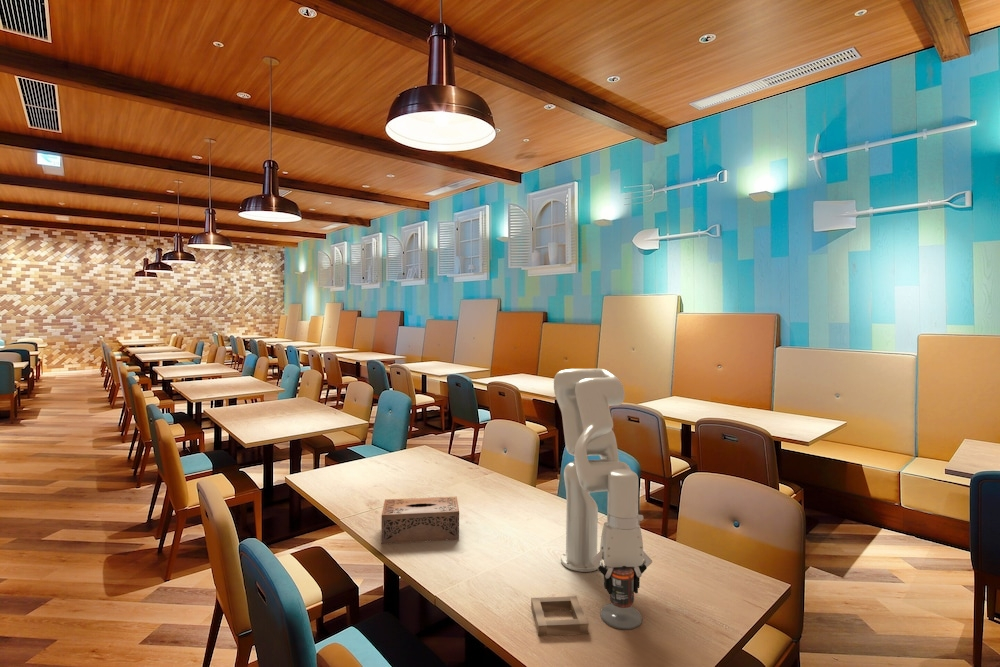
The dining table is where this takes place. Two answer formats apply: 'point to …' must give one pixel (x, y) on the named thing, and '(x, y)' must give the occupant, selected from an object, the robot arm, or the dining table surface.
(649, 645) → the dining table surface
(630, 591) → the supplement bottle
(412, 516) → the tissue box cover
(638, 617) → the coaster
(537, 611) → the pocket frame
